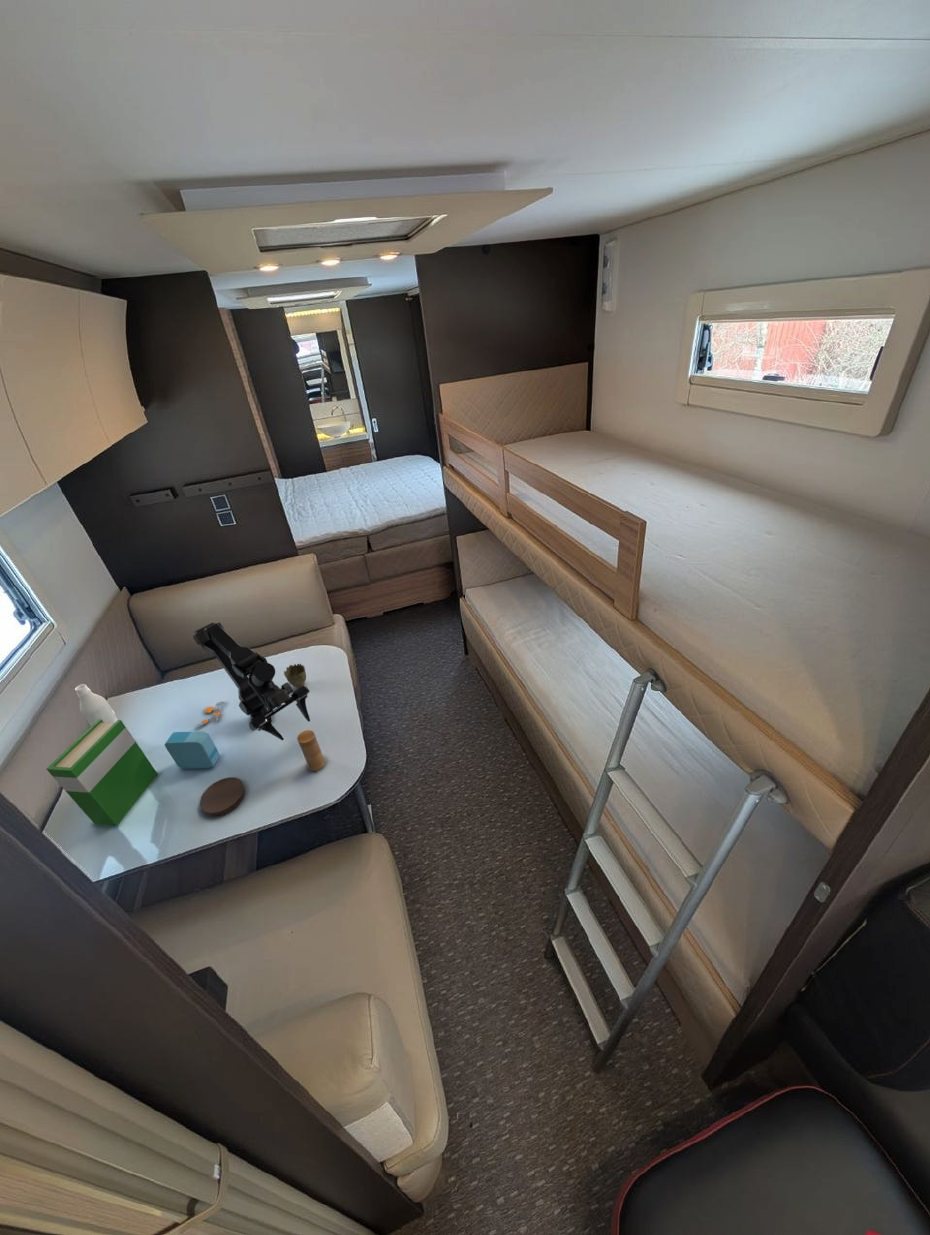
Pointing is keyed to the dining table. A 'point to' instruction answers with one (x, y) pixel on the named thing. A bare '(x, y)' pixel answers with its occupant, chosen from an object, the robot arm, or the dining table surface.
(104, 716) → the water bottle
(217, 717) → the key chain
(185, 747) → the data package
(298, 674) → the olive tapered rounded piece
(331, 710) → the dining table surface
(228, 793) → the walnut disc
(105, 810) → the hardback book
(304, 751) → the oak column
